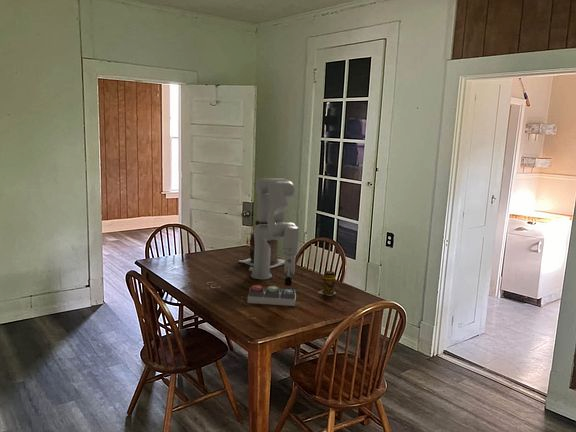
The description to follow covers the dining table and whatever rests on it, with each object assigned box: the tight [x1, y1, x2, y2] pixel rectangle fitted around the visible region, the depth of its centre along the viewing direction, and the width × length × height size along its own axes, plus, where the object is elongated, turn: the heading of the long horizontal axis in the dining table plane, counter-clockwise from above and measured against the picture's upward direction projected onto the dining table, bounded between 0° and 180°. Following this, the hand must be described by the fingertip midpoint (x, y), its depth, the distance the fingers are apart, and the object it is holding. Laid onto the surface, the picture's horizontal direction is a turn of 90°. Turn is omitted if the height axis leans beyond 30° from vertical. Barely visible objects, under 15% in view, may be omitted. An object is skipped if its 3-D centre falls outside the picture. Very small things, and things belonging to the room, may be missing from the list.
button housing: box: [246, 286, 297, 307], centre depth 243 cm, size 24×10×6 cm, turn 88°
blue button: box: [283, 289, 293, 294], centre depth 242 cm, size 5×5×2 cm
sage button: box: [267, 285, 279, 293], centre depth 243 cm, size 5×5×2 cm
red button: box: [251, 284, 263, 292], centre depth 243 cm, size 5×5×2 cm
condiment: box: [317, 270, 337, 297], centre depth 259 cm, size 7×8×12 cm
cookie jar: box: [238, 219, 285, 270], centre depth 309 cm, size 25×25×32 cm
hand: (288, 285), depth 242 cm, fingers closed
